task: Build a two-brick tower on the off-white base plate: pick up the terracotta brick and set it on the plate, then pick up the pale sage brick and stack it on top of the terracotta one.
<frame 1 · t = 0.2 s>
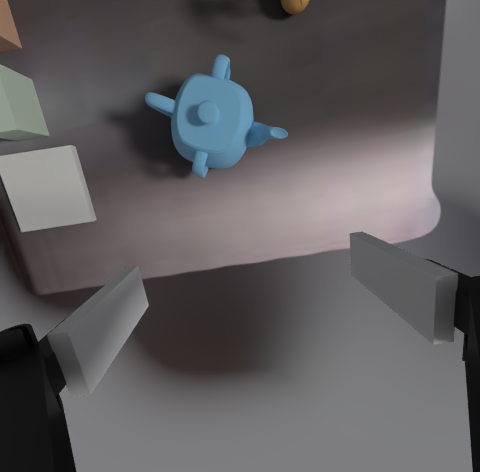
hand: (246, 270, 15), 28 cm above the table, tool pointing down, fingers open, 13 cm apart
base plate: (50, 189, 41), on the table
figurine: (284, 7, 36), on the table
teapot: (219, 130, 39), on the table
sage brick: (25, 111, 38), on the table
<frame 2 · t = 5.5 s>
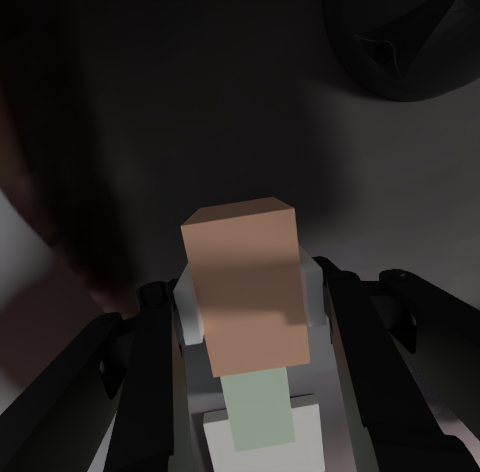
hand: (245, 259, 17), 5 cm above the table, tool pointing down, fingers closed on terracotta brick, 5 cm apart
base plate: (266, 446, 28), on the table
terracotta brick: (245, 258, 17), point 5 cm above the table, touching gripper
sage brick: (251, 355, 25), on the table
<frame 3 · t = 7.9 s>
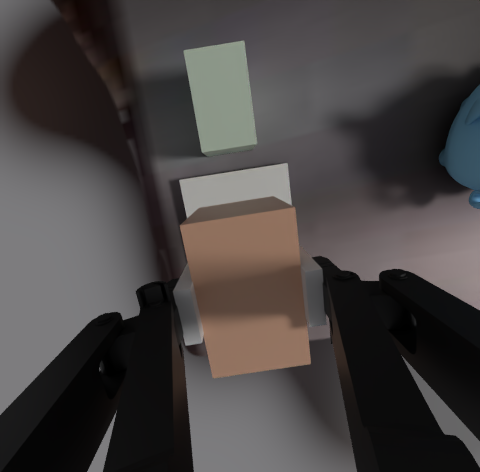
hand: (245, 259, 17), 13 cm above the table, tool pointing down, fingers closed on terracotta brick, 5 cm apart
base plate: (240, 222, 30), on the table
terracotta brick: (244, 258, 17), point 13 cm above the table, touching gripper
sage brick: (224, 115, 27), on the table
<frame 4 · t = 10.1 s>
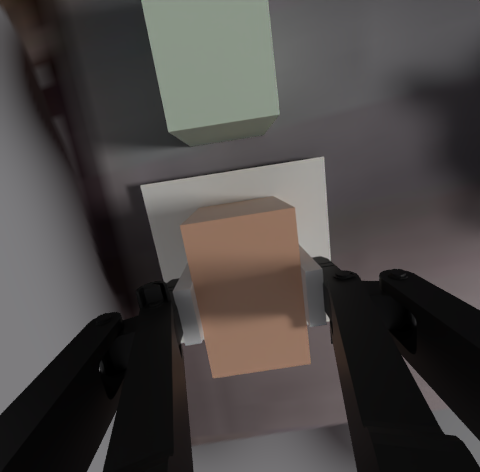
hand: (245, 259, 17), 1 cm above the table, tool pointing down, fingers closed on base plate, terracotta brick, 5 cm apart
base plate: (244, 253, 19), on the table
terracotta brick: (244, 258, 17), point 1 cm above the table, touching gripper
sage brick: (217, 75, 16), on the table
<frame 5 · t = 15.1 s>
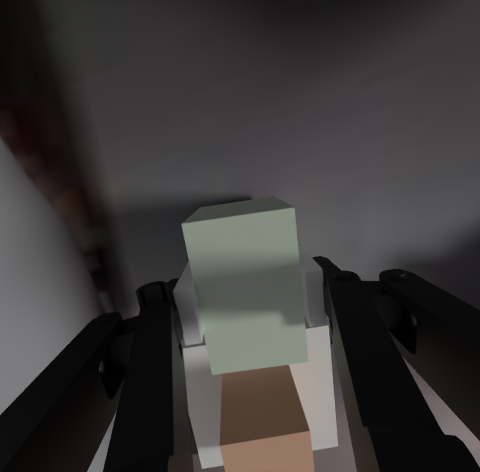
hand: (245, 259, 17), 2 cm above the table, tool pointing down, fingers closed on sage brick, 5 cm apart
base plate: (259, 389, 21), on the table
terracotta brick: (260, 401, 20), point 1 cm above the table, touching base plate
sage brick: (245, 257, 18), point 1 cm above the table, touching gripper
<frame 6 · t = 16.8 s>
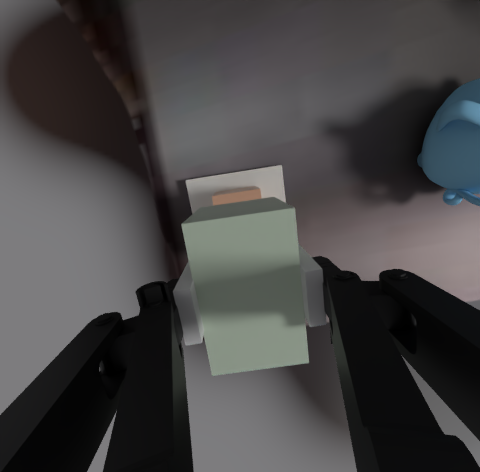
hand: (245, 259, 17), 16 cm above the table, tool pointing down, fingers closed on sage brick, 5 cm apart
base plate: (240, 218, 33), on the table
teapot: (458, 145, 32), on the table
terracotta brick: (240, 220, 32), point 1 cm above the table, touching base plate
sage brick: (245, 258, 18), point 16 cm above the table, touching gripper
when the fingers open (8 cm above the table, at t = 18.6 s): sage brick stays where it is, resting on terracotta brick.
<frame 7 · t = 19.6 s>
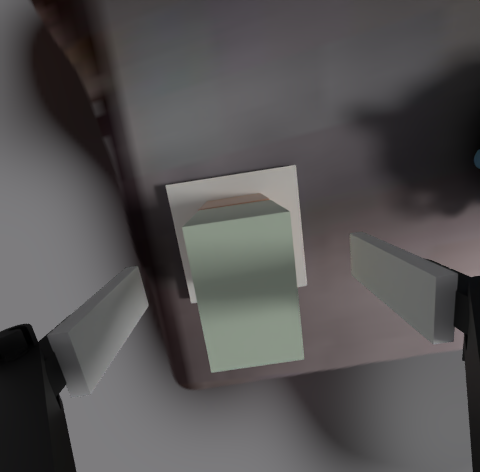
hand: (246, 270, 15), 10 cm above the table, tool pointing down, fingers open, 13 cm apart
base plate: (239, 235, 25), on the table
terracotta brick: (239, 238, 24), point 1 cm above the table, touching base plate, sage brick
sage brick: (242, 259, 18), point 7 cm above the table, touching terracotta brick
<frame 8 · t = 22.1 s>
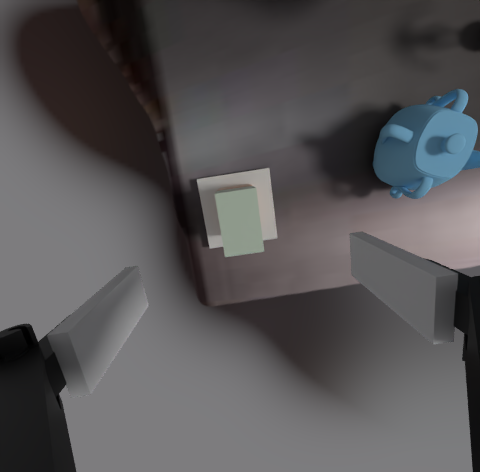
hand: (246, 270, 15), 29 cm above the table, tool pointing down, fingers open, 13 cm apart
base plate: (238, 208, 43), on the table
teapot: (403, 153, 42), on the table
sage brick: (239, 215, 36), point 7 cm above the table, touching terracotta brick
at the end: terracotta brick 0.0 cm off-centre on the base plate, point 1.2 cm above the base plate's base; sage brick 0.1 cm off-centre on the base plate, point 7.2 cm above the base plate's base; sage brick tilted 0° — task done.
